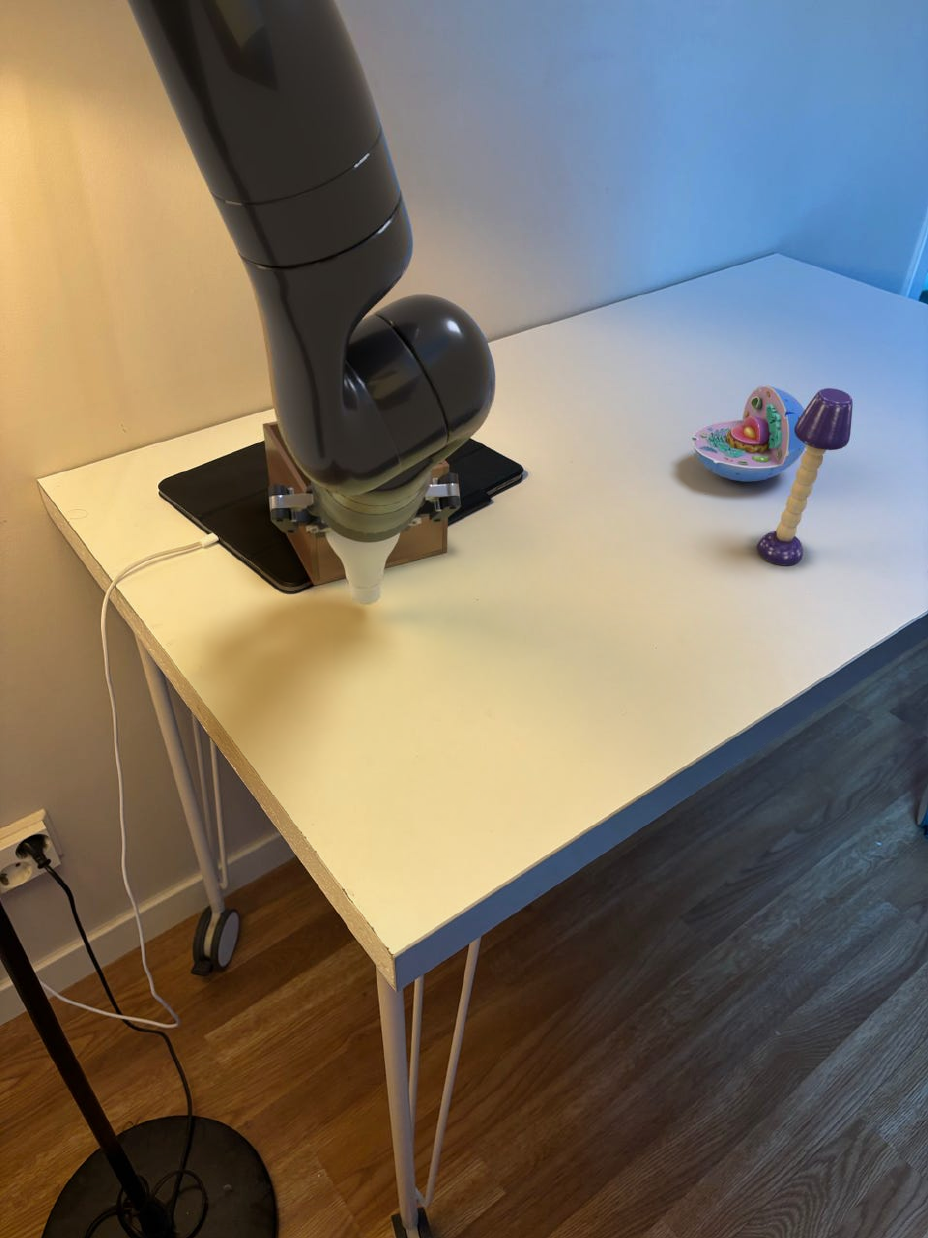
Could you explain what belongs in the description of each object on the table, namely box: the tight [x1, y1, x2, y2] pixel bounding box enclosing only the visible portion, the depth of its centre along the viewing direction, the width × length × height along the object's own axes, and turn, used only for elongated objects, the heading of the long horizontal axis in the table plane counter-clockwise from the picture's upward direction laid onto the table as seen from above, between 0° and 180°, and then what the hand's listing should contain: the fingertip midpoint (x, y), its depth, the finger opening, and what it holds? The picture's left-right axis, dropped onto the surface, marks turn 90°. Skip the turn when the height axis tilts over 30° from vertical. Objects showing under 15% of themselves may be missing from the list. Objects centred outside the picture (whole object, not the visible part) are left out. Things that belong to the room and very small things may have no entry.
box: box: [262, 420, 450, 586], centre depth 88 cm, size 13×13×10 cm
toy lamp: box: [756, 387, 853, 566], centre depth 85 cm, size 5×5×17 cm
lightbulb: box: [325, 532, 400, 606], centre depth 78 cm, size 6×6×11 cm
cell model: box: [691, 385, 807, 483], centre depth 98 cm, size 10×12×10 cm
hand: (360, 521), depth 78 cm, fingers closed on lightbulb, 6 cm apart
